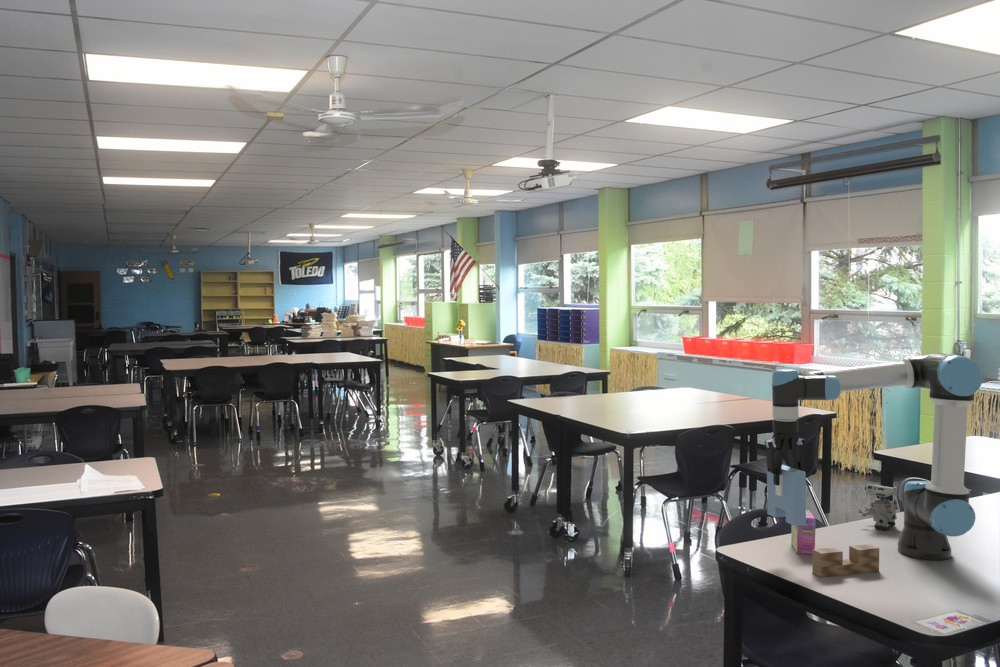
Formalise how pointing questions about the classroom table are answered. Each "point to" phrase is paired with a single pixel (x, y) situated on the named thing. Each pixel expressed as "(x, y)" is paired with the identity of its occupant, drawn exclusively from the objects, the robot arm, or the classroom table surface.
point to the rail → (845, 561)
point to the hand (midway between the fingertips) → (786, 494)
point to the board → (788, 496)
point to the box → (804, 535)
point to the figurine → (882, 506)
